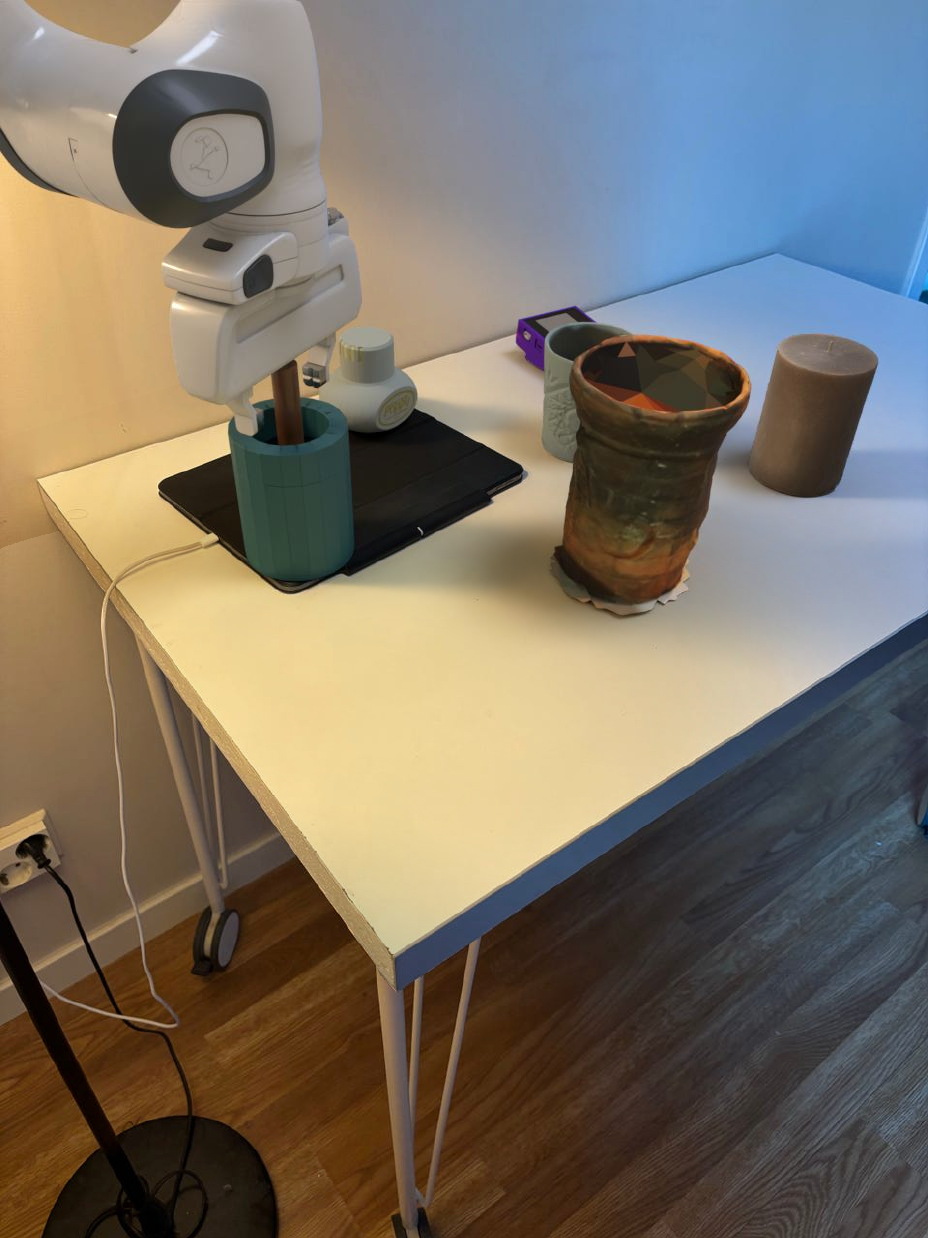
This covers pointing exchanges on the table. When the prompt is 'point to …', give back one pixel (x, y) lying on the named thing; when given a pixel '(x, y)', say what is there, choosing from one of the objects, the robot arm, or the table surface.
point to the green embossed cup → (566, 382)
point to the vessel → (643, 466)
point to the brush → (287, 405)
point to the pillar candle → (811, 413)
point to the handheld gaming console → (544, 331)
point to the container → (295, 494)
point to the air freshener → (369, 382)
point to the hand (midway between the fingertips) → (285, 406)
